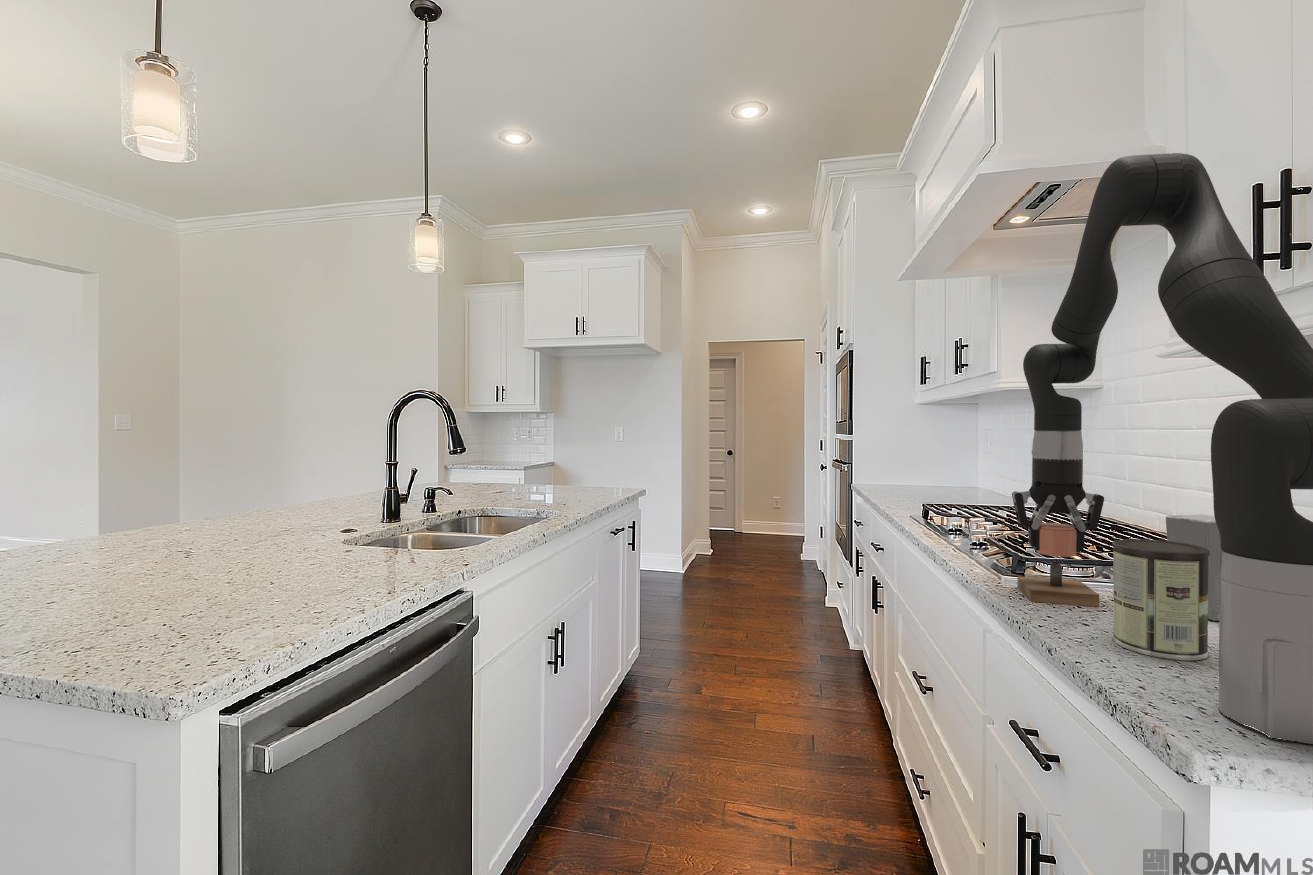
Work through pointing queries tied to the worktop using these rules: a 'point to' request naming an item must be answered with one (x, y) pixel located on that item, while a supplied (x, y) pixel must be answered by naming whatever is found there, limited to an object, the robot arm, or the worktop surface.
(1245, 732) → the worktop surface
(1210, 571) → the skincare box
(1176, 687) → the worktop surface
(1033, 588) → the peg block
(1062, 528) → the cap
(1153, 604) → the coffee can
